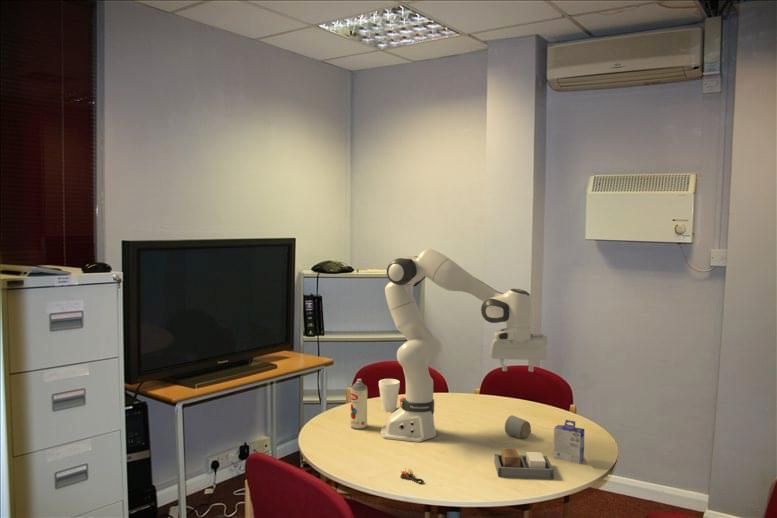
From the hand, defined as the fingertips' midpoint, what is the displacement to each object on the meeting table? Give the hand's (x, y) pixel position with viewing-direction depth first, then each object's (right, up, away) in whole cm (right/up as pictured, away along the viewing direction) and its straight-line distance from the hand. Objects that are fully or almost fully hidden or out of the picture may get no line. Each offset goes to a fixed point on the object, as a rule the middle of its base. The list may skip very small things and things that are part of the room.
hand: (517, 371), depth 221 cm
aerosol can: (-60, -29, +30) cm, 73 cm away
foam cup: (-47, -28, +53) cm, 76 cm away
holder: (-1, -32, -15) cm, 35 cm away
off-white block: (+3, -31, -15) cm, 35 cm away
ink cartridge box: (+17, -32, -4) cm, 36 cm away
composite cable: (-40, -33, -21) cm, 55 cm away
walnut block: (-6, -31, -15) cm, 35 cm away
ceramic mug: (+5, -30, +22) cm, 38 cm away
